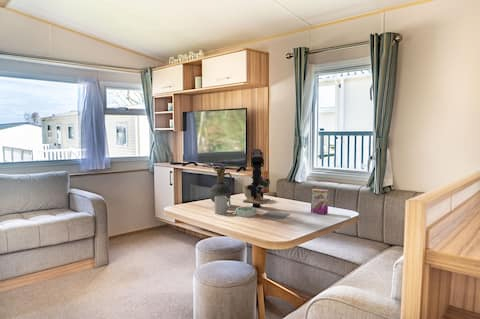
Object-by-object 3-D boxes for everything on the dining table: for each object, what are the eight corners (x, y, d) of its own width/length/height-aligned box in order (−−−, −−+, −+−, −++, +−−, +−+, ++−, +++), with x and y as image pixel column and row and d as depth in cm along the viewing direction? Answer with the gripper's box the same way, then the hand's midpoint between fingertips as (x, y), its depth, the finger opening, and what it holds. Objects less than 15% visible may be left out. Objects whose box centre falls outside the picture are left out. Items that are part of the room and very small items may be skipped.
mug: (218, 214, 230) (218, 198, 229) (212, 212, 236) (212, 196, 235) (233, 212, 237) (233, 196, 236) (226, 210, 243) (226, 194, 242)
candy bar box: (310, 213, 236) (311, 189, 235) (311, 211, 241) (312, 188, 239) (327, 214, 232) (328, 190, 231) (328, 213, 237) (328, 189, 236)
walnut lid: (251, 198, 238) (251, 191, 237) (270, 200, 232) (270, 193, 231) (242, 202, 225) (242, 194, 225) (262, 204, 219) (262, 196, 219)
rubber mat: (268, 211, 239) (268, 211, 239) (290, 214, 232) (290, 213, 232) (259, 216, 225) (259, 216, 225) (282, 220, 218) (282, 219, 218)
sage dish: (241, 212, 238) (241, 205, 238) (258, 214, 233) (258, 207, 232) (232, 216, 227) (232, 209, 226) (250, 218, 221) (250, 211, 221)
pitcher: (207, 206, 254) (207, 165, 252) (226, 202, 268) (226, 164, 265) (217, 208, 247) (217, 167, 244) (236, 204, 260) (236, 165, 258)
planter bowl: (240, 198, 284) (240, 185, 283) (259, 197, 287) (259, 185, 287) (245, 202, 268) (245, 188, 267) (265, 201, 272) (265, 188, 271)
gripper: (263, 177, 215) (262, 202, 217) (273, 174, 232) (272, 197, 233) (246, 176, 220) (246, 200, 221) (257, 173, 237) (257, 195, 238)
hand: (256, 198), depth 228 cm, fingers closed on walnut lid, 4 cm apart
